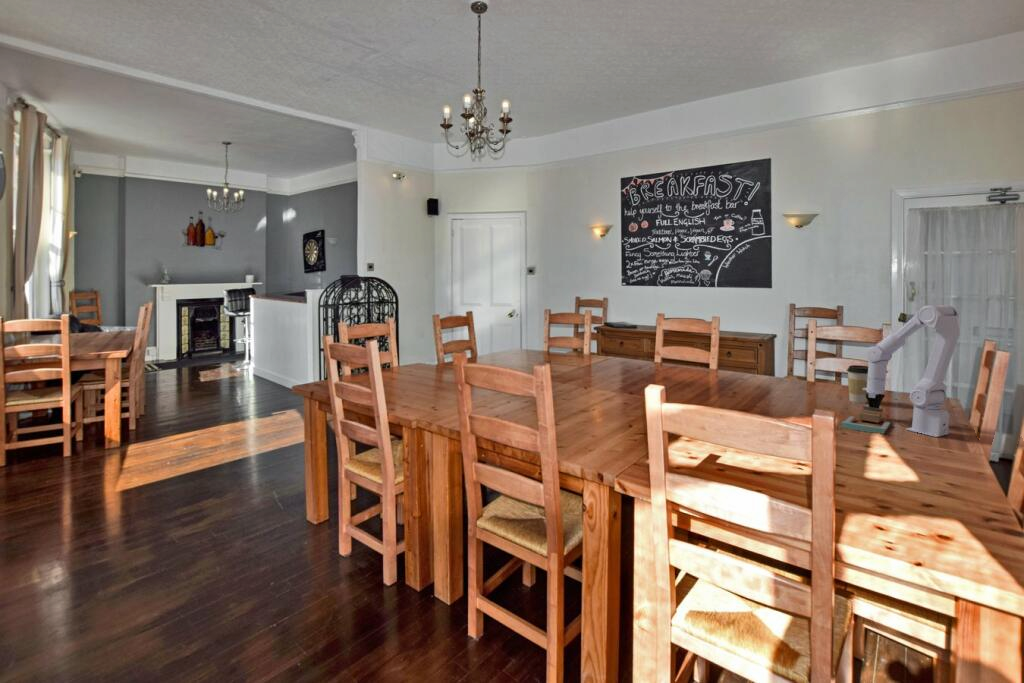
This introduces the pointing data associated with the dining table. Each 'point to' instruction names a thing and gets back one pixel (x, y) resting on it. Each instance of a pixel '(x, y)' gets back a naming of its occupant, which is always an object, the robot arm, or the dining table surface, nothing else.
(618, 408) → the dining table surface
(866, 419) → the brown striped block
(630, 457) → the dining table surface
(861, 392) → the coffee cup
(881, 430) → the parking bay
